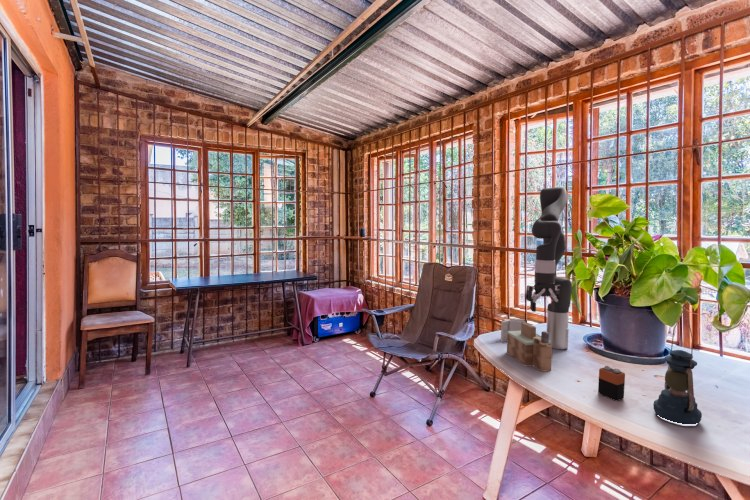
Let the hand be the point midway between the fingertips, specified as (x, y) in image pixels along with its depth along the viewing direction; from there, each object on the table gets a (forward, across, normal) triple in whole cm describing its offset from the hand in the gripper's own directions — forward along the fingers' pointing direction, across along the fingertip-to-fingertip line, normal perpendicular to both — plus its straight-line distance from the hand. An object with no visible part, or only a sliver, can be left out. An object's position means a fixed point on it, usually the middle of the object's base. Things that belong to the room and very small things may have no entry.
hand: (543, 311), depth 158 cm
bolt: (+14, -1, -2) cm, 14 cm away
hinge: (+24, -6, -37) cm, 45 cm away
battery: (+24, -11, +25) cm, 37 cm away
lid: (+16, 0, -12) cm, 20 cm away
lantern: (+24, -21, +42) cm, 53 cm away
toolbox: (+24, 0, -9) cm, 26 cm away
